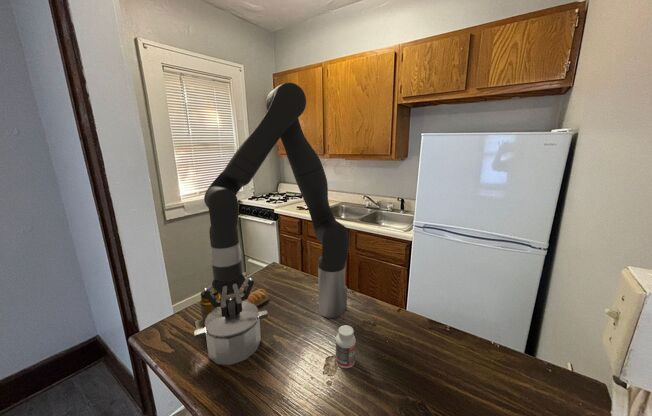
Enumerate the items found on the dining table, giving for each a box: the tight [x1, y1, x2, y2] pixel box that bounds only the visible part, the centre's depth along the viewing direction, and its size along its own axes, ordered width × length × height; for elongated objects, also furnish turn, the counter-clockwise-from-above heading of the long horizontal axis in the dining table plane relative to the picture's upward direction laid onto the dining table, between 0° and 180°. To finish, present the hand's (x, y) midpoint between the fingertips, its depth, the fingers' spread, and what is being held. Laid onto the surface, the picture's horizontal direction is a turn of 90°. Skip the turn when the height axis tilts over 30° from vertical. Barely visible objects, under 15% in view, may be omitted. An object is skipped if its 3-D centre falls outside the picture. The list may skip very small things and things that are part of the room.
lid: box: [205, 295, 259, 337], centre depth 72 cm, size 14×14×8 cm
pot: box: [193, 310, 269, 366], centre depth 73 cm, size 20×14×8 cm
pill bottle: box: [334, 324, 357, 369], centre depth 67 cm, size 5×5×10 cm
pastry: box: [243, 288, 270, 307], centre depth 94 cm, size 9×7×4 cm
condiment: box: [194, 289, 220, 330], centre depth 81 cm, size 7×8×12 cm
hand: (232, 314), depth 72 cm, fingers closed on lid, 3 cm apart
